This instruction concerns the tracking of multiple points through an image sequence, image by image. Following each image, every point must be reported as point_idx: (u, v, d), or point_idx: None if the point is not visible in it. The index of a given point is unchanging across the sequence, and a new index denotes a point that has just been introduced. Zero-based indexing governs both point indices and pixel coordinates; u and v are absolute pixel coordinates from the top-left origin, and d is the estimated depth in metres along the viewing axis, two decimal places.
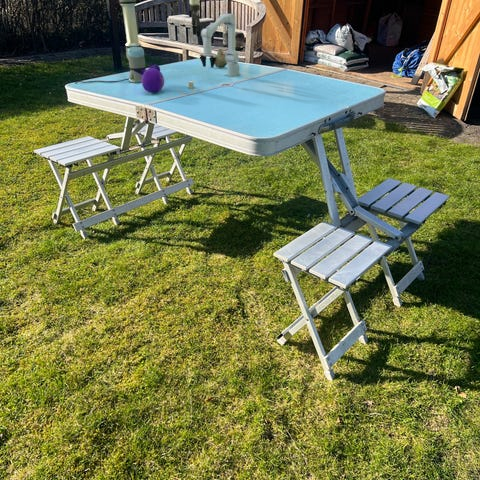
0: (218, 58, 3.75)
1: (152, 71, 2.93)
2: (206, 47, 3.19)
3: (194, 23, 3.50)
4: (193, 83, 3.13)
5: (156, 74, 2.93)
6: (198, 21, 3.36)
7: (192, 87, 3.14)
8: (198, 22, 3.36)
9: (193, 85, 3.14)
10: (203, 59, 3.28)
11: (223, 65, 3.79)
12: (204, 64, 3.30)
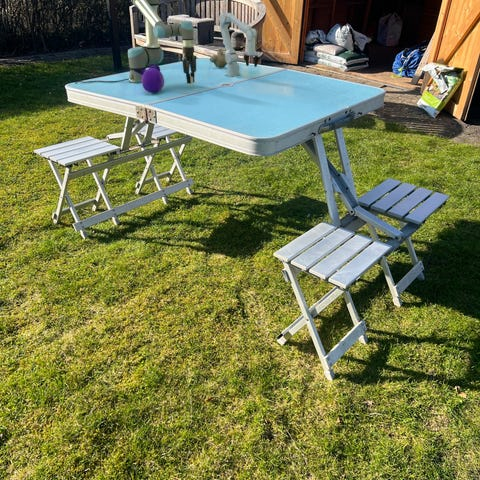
0: (218, 58, 3.75)
1: (152, 71, 2.93)
2: (250, 47, 3.29)
3: (192, 69, 3.11)
4: (192, 78, 3.12)
5: (156, 74, 2.93)
6: (184, 68, 3.04)
7: (191, 82, 3.13)
8: (184, 69, 3.05)
9: (192, 80, 3.13)
10: (246, 58, 3.37)
11: (223, 65, 3.79)
12: (247, 63, 3.39)
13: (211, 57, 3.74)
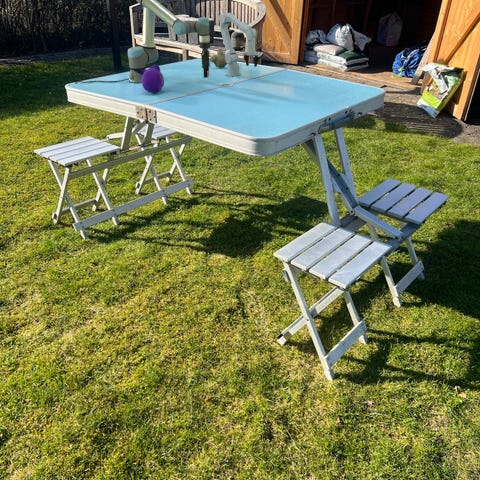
0: (218, 58, 3.75)
1: (152, 71, 2.93)
2: (250, 47, 3.29)
3: (207, 63, 3.26)
4: (208, 72, 3.27)
5: (156, 74, 2.93)
6: (203, 62, 3.18)
7: (208, 76, 3.27)
8: (203, 63, 3.18)
9: (208, 74, 3.27)
10: (246, 58, 3.37)
11: (223, 65, 3.79)
12: (247, 63, 3.39)
13: (211, 57, 3.74)
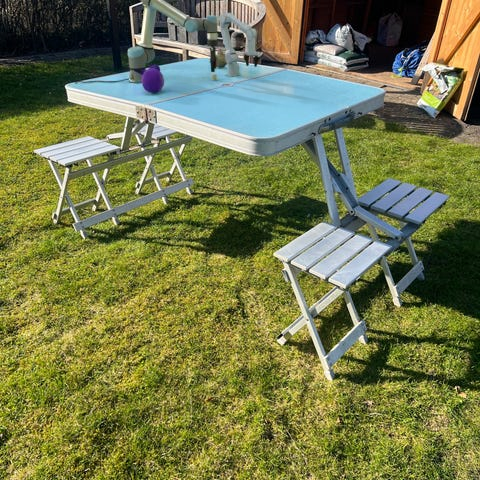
0: (218, 58, 3.75)
1: (152, 71, 2.93)
2: (250, 47, 3.29)
3: (214, 57, 3.36)
4: (216, 75, 3.37)
5: (156, 74, 2.93)
6: (212, 57, 3.21)
7: (216, 79, 3.37)
8: (212, 58, 3.22)
9: (216, 77, 3.37)
10: (246, 58, 3.37)
11: (223, 65, 3.79)
12: (247, 63, 3.39)
13: None
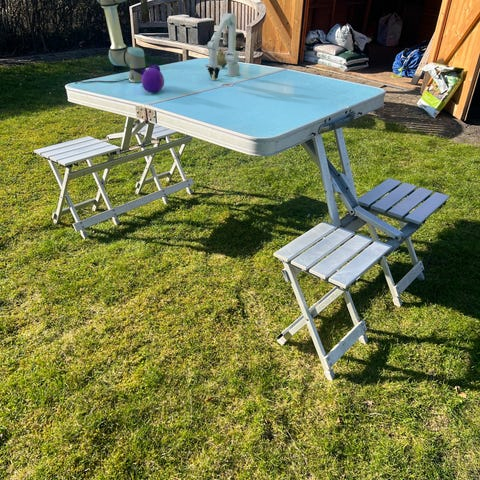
0: (218, 58, 3.75)
1: (152, 71, 2.93)
2: (212, 59, 3.28)
3: (147, 10, 3.62)
4: None
5: (156, 74, 2.93)
6: (142, 8, 3.47)
7: (216, 79, 3.37)
8: (142, 9, 3.47)
9: None
10: (211, 70, 3.35)
11: (223, 65, 3.79)
12: None
13: None
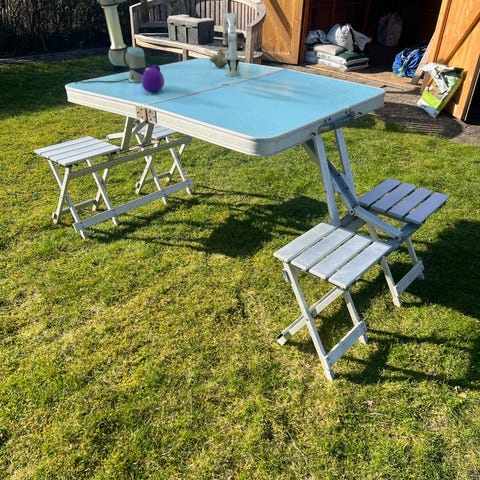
0: (218, 58, 3.75)
1: (152, 71, 2.93)
2: (234, 51, 3.26)
3: (147, 10, 3.62)
4: None
5: (156, 74, 2.93)
6: (142, 8, 3.47)
7: (235, 71, 3.35)
8: (142, 9, 3.47)
9: None
10: (230, 63, 3.31)
11: (223, 65, 3.79)
12: (230, 68, 3.34)
13: (211, 57, 3.74)
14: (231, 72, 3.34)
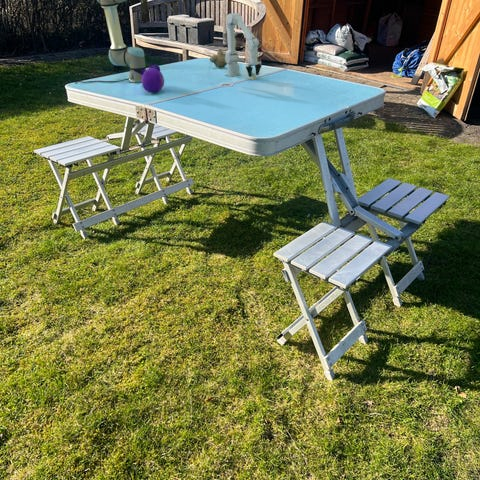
0: (218, 58, 3.75)
1: (152, 71, 2.93)
2: (257, 56, 3.29)
3: (147, 10, 3.62)
4: None
5: (156, 74, 2.93)
6: (142, 8, 3.47)
7: None
8: (142, 9, 3.47)
9: None
10: None
11: (223, 65, 3.79)
12: None
13: (211, 57, 3.74)
14: (253, 78, 3.36)
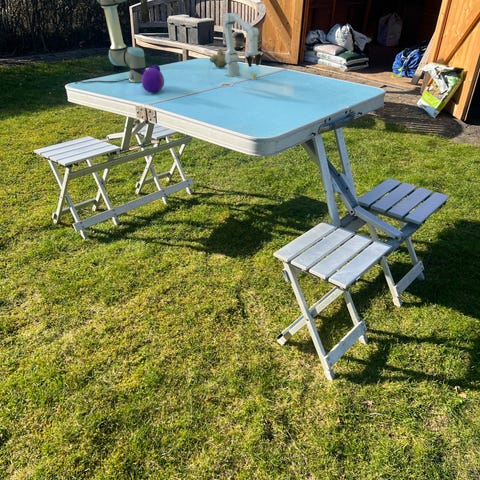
0: (218, 58, 3.75)
1: (152, 71, 2.93)
2: (257, 46, 3.25)
3: (147, 10, 3.62)
4: None
5: (156, 74, 2.93)
6: (142, 8, 3.47)
7: None
8: (142, 9, 3.47)
9: None
10: None
11: (223, 65, 3.79)
12: None
13: (211, 57, 3.74)
14: (253, 78, 3.36)
